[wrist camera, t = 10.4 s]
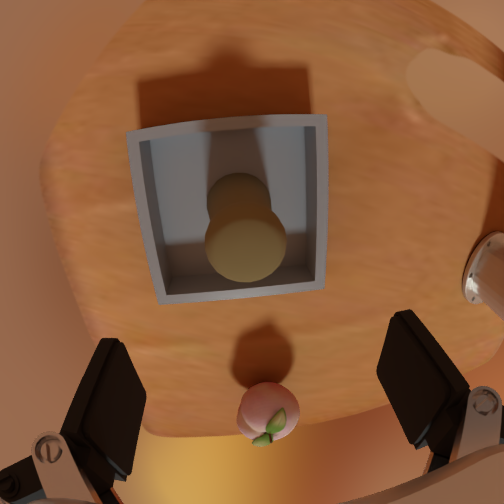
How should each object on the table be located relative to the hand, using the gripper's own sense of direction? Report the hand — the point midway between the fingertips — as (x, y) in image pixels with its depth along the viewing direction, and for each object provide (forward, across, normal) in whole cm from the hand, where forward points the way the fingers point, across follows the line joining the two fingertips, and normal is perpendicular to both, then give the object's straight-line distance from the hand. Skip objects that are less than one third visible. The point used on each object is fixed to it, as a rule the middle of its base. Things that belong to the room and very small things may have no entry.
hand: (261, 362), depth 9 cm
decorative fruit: (+21, -1, +27) cm, 34 cm away
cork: (+20, 0, 0) cm, 20 cm away
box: (+20, +1, 0) cm, 21 cm away
